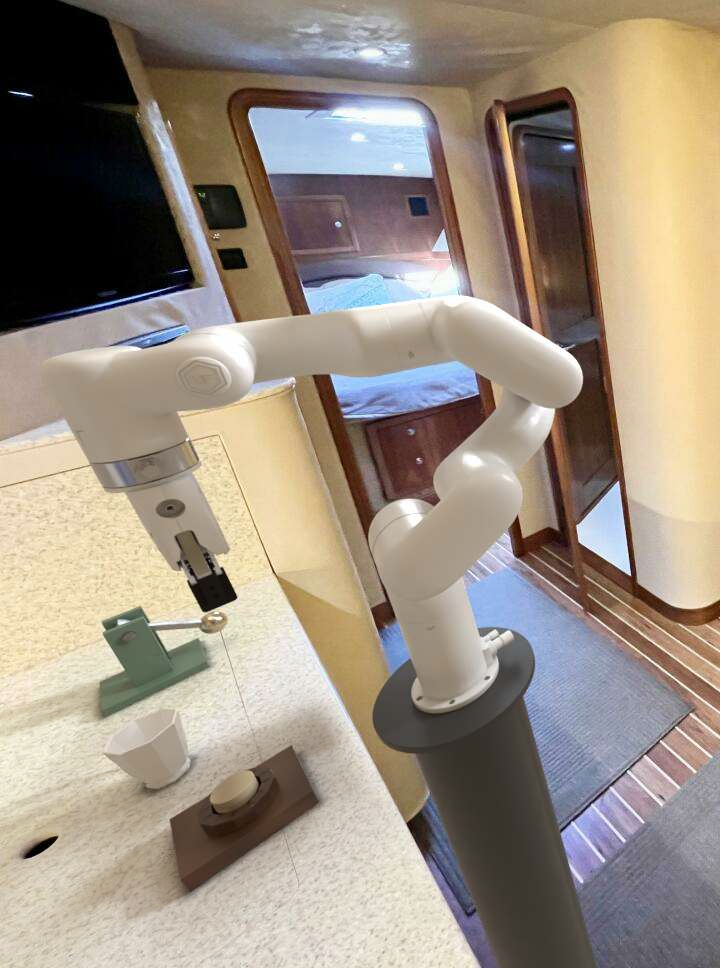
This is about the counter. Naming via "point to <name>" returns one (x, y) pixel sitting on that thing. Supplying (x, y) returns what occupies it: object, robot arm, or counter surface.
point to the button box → (240, 819)
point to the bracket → (144, 661)
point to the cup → (151, 748)
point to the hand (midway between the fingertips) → (220, 603)
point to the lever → (189, 623)
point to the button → (234, 792)
